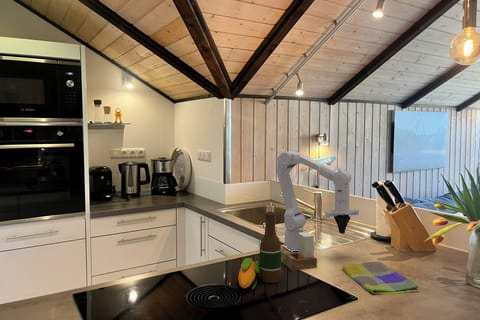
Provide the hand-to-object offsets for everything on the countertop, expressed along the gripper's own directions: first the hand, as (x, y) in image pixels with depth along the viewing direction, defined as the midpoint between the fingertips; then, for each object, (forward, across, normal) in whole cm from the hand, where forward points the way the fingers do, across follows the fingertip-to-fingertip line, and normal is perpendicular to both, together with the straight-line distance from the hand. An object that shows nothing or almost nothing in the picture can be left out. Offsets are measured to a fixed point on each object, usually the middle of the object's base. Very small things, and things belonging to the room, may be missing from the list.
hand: (341, 233), depth 151 cm
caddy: (+10, -20, -2) cm, 22 cm away
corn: (+11, -45, -14) cm, 48 cm away
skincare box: (+11, -17, -2) cm, 20 cm away
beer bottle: (+11, -36, -13) cm, 40 cm away
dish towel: (+11, 0, -24) cm, 27 cm away
